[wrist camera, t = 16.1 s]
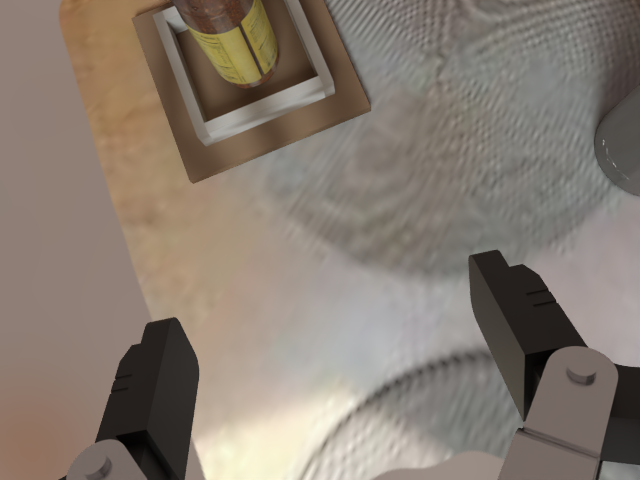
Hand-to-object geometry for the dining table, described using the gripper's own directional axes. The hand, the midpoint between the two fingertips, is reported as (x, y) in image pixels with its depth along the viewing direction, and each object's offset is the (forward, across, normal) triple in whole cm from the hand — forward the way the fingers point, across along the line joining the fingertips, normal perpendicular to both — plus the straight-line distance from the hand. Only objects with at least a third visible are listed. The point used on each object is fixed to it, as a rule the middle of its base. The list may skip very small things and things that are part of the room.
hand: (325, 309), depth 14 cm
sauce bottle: (+41, +5, +4) cm, 41 cm away
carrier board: (+42, +5, +4) cm, 42 cm away
